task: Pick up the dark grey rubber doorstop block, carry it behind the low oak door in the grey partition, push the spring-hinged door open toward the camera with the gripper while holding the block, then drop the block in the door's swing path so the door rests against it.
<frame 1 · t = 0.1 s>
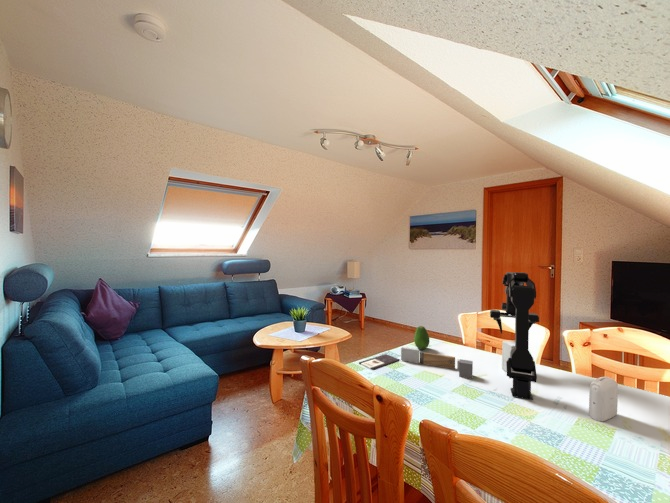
hand: (513, 334, 138), 15 cm above the table, fingers open, 9 cm apart
fruit: (421, 349, 161), on the table
supplement box: (514, 372, 132), on the table
doorstop block: (465, 375, 128), on the table
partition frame: (439, 366, 138), on the table
chocolate bar: (379, 363, 143), on the table
oak door: (436, 360, 139), point 3 cm above the table, hinge at 0.0°
photo printer: (602, 416, 99), on the table
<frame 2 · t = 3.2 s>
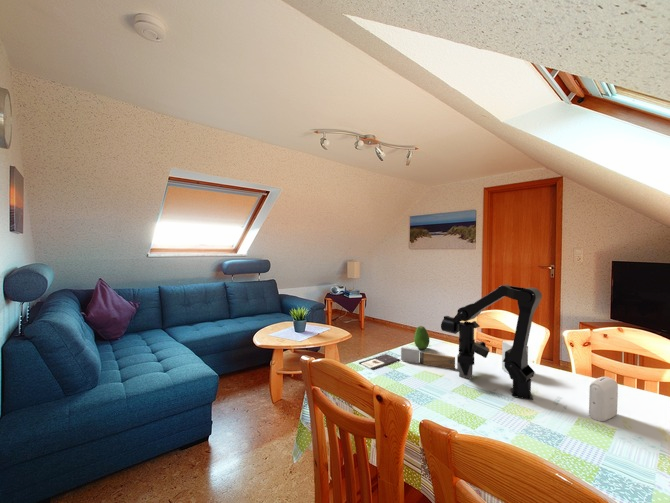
hand: (465, 373, 128), 1 cm above the table, fingers closed on doorstop block, 4 cm apart
doorstop block: (465, 375, 128), on the table, touching gripper
everything else where it was.
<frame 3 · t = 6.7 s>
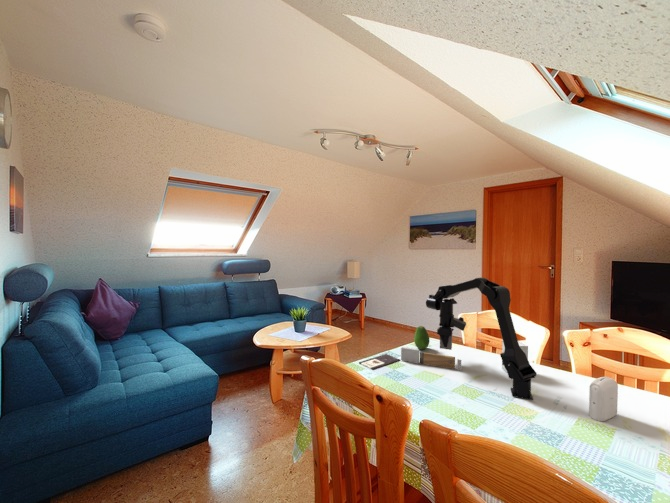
hand: (446, 345, 143), 8 cm above the table, fingers closed on doorstop block, 4 cm apart
doorstop block: (445, 347, 143), point 7 cm above the table, touching gripper
everything else where it was.
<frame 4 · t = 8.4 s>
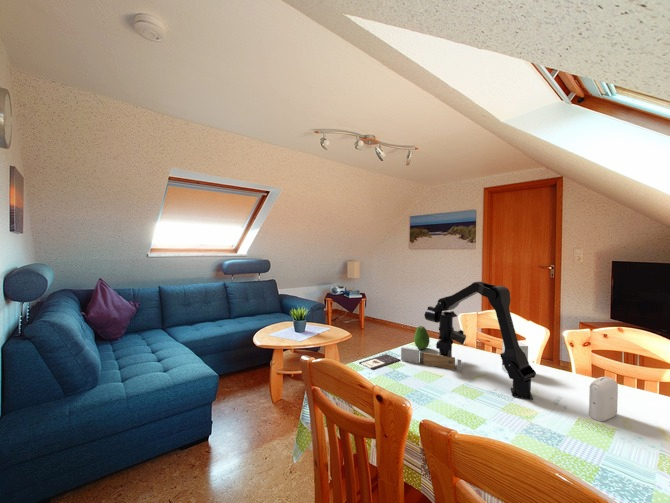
hand: (445, 358, 141), 2 cm above the table, fingers closed on doorstop block, 4 cm apart
doorstop block: (445, 360, 141), point 1 cm above the table, touching gripper
oak door: (436, 360, 138), point 3 cm above the table, hinge at 2.9°, touching gripper
everything else where it was.
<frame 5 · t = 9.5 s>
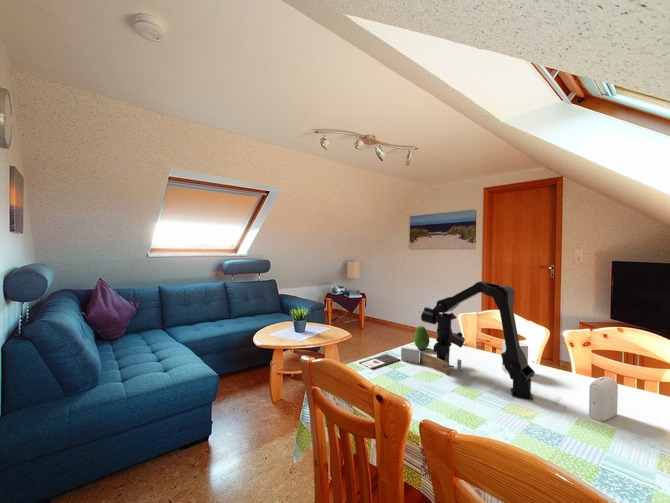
hand: (442, 361, 137), 3 cm above the table, fingers closed on doorstop block, 4 cm apart
doorstop block: (442, 363, 137), point 2 cm above the table, touching gripper
oak door: (433, 362, 136), point 3 cm above the table, hinge at 32.5°, touching gripper
everything else where it was.
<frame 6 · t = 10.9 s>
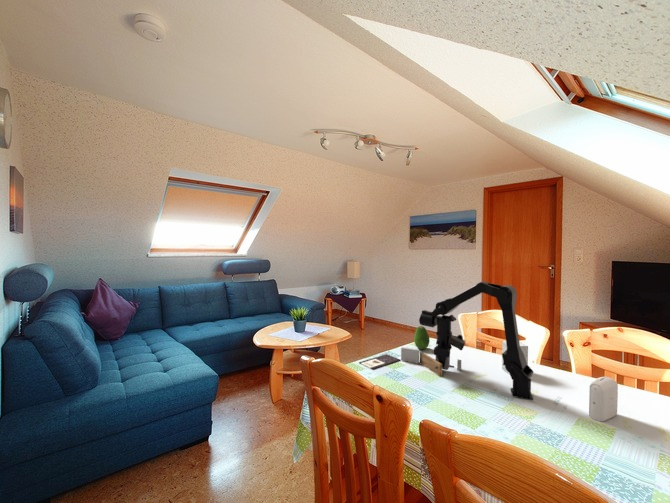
hand: (443, 365, 133), 3 cm above the table, fingers closed on doorstop block, 4 cm apart
doorstop block: (442, 367, 133), point 2 cm above the table, touching gripper, oak door
oak door: (429, 363, 135), point 3 cm above the table, hinge at 48.7°, touching doorstop block, gripper
everything else where it was.
when the fingers open (3 cm above the table, at t = 11.0 s): doorstop block drops 2 cm, on the table.
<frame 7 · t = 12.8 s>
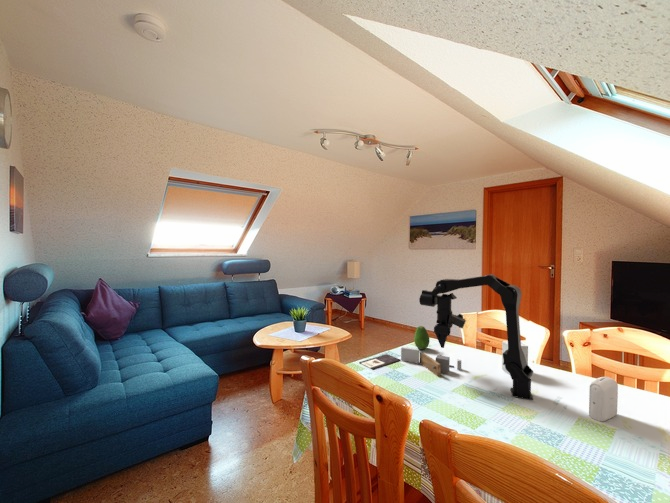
hand: (443, 344, 132), 12 cm above the table, fingers open, 9 cm apart
doorstop block: (442, 371, 133), on the table
oak door: (428, 363, 135), point 3 cm above the table, hinge at 52.2°
everything else where it was.
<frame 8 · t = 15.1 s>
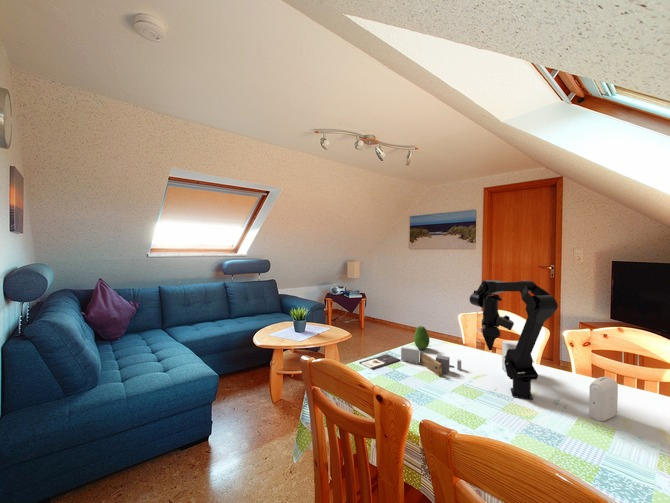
hand: (489, 346, 129), 12 cm above the table, fingers open, 9 cm apart
oak door: (429, 363, 135), point 3 cm above the table, hinge at 49.5°
everything else where it was.
at the end: oak door at +50° (first picture: +0°); doorstop block inside the target area (0.4 cm from its centre), on the table; the gripper is holding nothing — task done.
